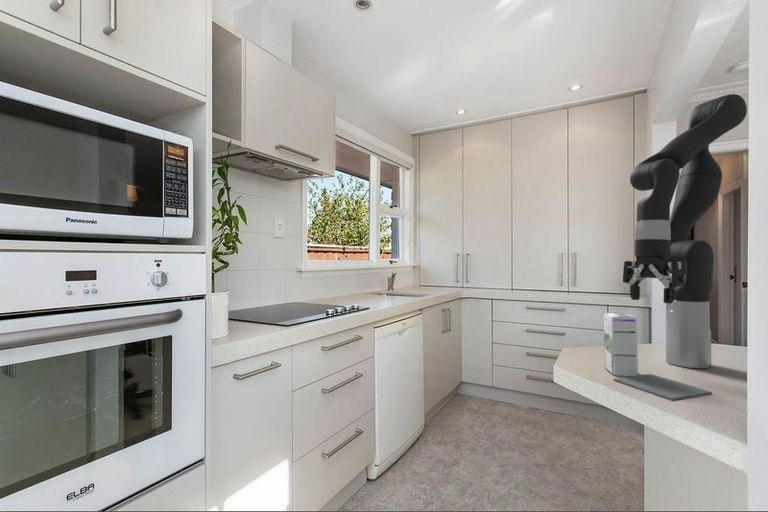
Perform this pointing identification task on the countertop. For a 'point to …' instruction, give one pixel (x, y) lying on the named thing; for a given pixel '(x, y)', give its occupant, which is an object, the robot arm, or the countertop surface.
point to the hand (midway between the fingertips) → (650, 301)
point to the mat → (662, 386)
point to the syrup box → (620, 344)
